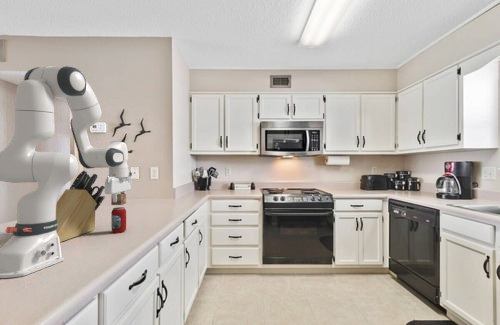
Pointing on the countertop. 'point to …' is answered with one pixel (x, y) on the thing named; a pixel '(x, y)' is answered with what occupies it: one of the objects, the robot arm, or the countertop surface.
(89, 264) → the countertop surface
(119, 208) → the beverage can
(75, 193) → the knife block
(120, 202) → the walnut block
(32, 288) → the countertop surface
